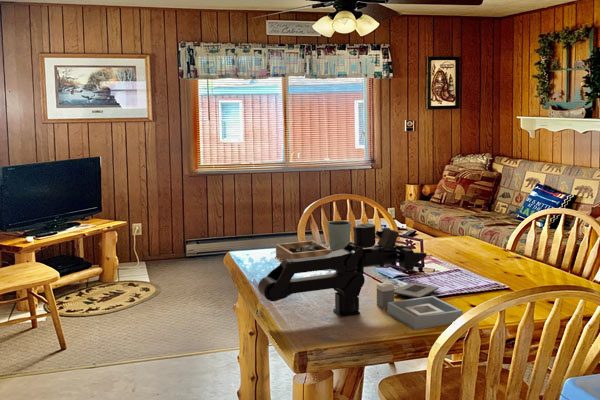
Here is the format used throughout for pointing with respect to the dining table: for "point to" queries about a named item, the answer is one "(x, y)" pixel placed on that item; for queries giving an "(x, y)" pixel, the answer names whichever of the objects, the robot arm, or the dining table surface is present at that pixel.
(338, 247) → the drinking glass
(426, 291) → the grey rectangular plate
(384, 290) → the plug
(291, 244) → the wooden tray
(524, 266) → the dining table surface
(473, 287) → the dining table surface
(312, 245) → the bison figurine
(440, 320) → the walled box
